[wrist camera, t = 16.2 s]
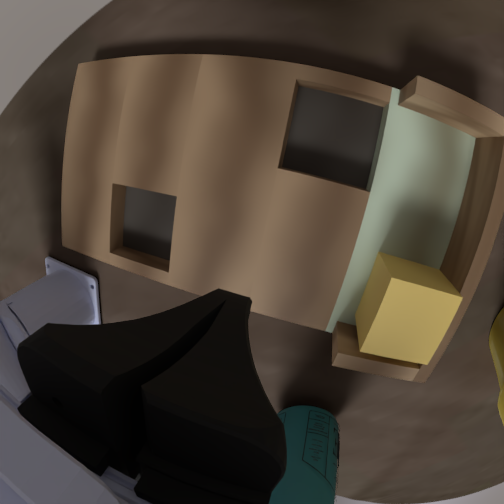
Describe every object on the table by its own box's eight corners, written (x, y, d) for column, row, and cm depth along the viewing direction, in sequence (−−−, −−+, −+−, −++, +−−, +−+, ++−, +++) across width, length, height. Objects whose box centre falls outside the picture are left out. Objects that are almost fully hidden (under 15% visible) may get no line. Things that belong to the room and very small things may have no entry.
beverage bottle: (260, 402, 25) (187, 596, 7) (325, 382, 23) (285, 616, 4) (292, 438, 26) (247, 608, 8) (352, 422, 24) (332, 614, 5)
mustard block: (354, 314, 18) (359, 351, 14) (378, 251, 17) (391, 277, 13) (413, 328, 17) (427, 364, 14) (439, 269, 16) (463, 297, 12)
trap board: (76, 239, 24) (34, 258, 19) (93, 67, 19) (48, 57, 14) (408, 336, 20) (424, 382, 15) (475, 130, 14) (519, 127, 9)
